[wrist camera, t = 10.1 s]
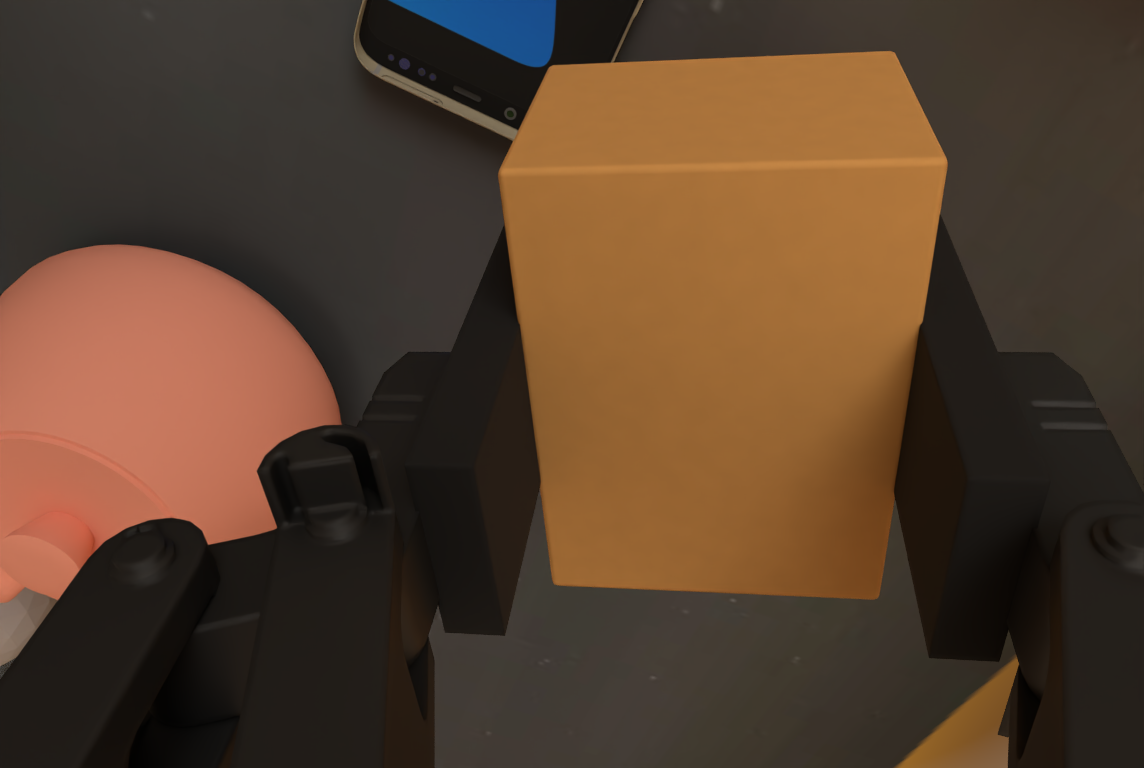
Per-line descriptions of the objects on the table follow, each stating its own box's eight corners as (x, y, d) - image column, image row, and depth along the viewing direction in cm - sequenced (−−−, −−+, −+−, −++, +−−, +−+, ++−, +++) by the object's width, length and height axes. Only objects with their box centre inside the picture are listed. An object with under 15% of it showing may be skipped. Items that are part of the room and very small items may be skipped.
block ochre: (850, 435, 17) (879, 602, 14) (582, 430, 18) (552, 587, 15) (896, 48, 13) (949, 159, 10) (547, 63, 14) (495, 170, 11)
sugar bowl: (431, 399, 34) (335, 621, 26) (209, 547, 40) (76, 761, 32) (158, 140, 29) (-65, 309, 21) (-42, 353, 36) (-272, 546, 28)
